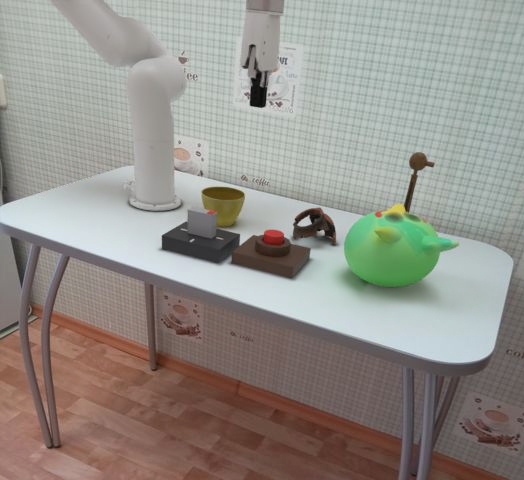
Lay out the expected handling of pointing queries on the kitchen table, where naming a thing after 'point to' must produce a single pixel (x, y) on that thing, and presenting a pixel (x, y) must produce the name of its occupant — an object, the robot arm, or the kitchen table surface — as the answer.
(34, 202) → the kitchen table surface
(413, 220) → the toy bird
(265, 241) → the power button
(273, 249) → the button block
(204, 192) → the flower pot
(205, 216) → the grey upright block
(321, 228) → the brown openwork arch
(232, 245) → the panel
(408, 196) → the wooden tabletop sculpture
